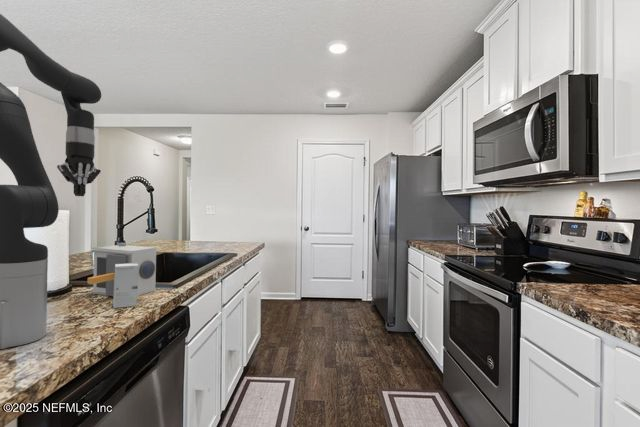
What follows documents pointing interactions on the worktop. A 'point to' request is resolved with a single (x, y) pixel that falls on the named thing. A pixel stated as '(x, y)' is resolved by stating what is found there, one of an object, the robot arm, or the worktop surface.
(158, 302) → the worktop surface
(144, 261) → the grey box with disc
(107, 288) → the hatch
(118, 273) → the skincare box
